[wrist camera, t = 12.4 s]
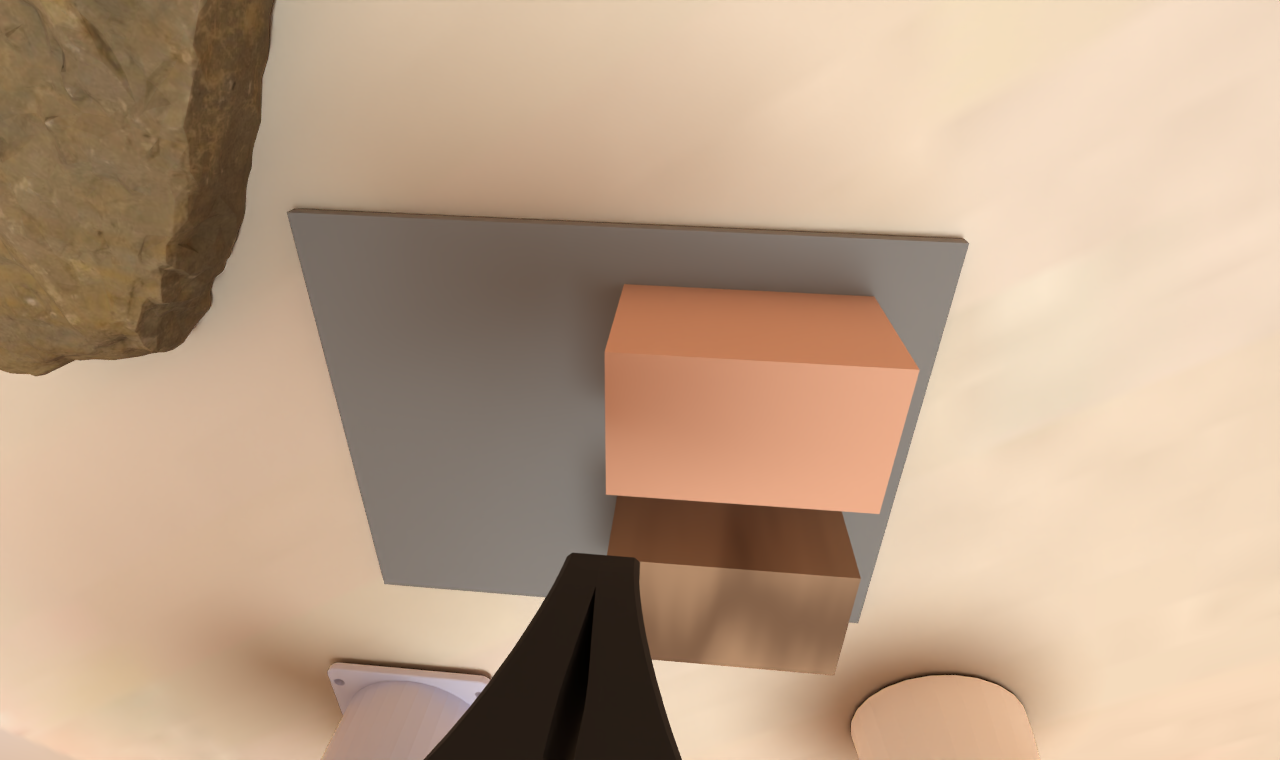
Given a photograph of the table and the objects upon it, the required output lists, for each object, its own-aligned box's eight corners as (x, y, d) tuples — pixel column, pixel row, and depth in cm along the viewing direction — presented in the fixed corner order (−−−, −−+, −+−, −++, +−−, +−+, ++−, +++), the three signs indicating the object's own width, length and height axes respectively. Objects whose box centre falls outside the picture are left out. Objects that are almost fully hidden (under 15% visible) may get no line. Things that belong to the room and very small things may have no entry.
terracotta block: (623, 408, 21) (855, 422, 21) (605, 494, 18) (890, 514, 17) (623, 284, 19) (884, 297, 19) (604, 352, 15) (932, 370, 15)
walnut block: (621, 556, 25) (820, 571, 24) (607, 655, 21) (843, 676, 21) (622, 466, 23) (841, 481, 22) (605, 559, 19) (871, 579, 18)
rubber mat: (856, 615, 26) (857, 623, 26) (388, 576, 27) (384, 584, 27) (963, 239, 18) (968, 243, 18) (294, 208, 19) (287, 212, 19)
